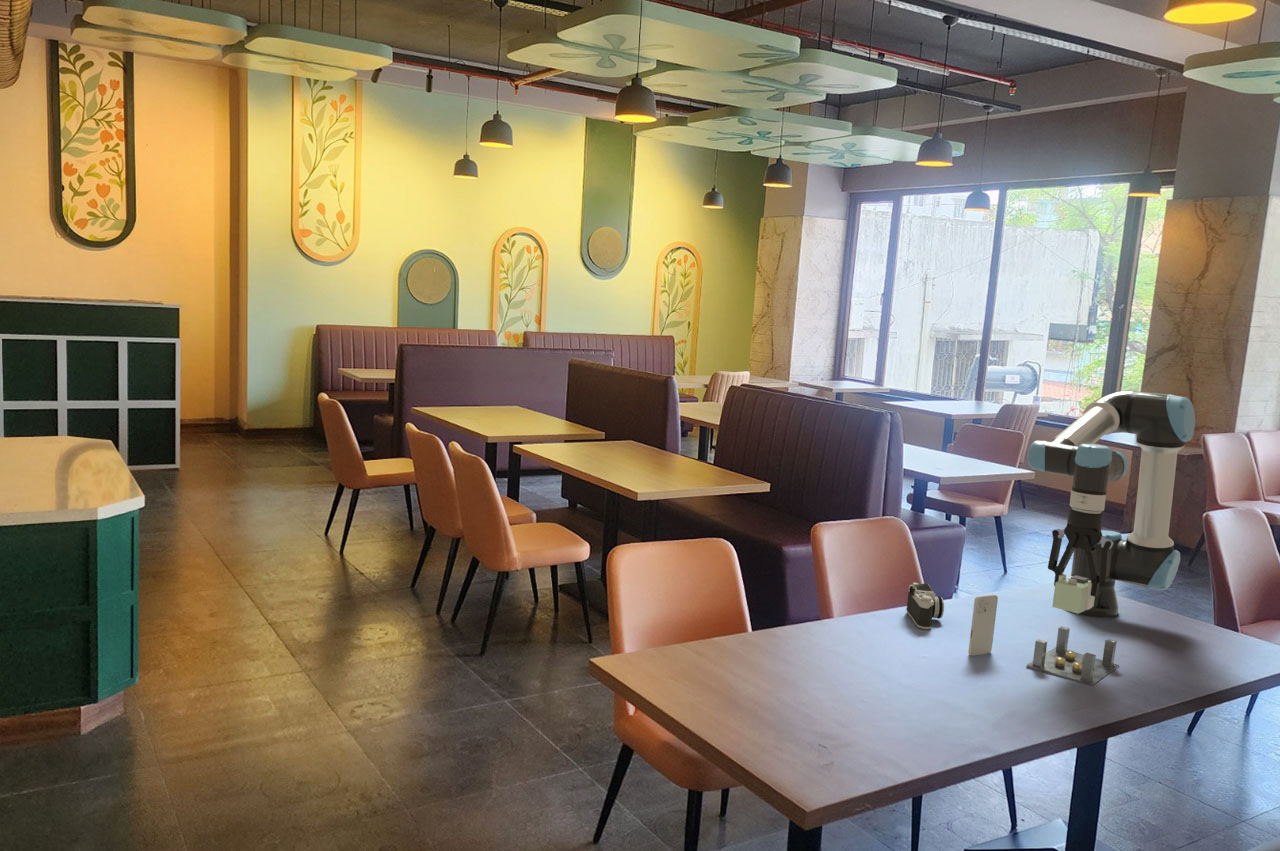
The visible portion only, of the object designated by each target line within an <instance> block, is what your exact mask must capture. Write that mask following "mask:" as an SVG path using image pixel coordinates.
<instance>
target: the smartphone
mask: <svg viewBox="0 0 1280 851" xmlns="http://www.w3.org/2000/svg"><path fill="white" fill-rule="evenodd" d="M998 599H999V598H998V595H996V594H994V593H993V594H991V593H990V594H985V595H983V594H982V595H977V596H976V597H975V598H974V602H973V608H972V609H973V611H972V617H971V618H972V620H971V628H970V637H969V643H968V655H969V656H972V657H974V656H978V655H979V656H980V655H986V654H990V653H991V652H992V649H993V643H994V642H993V640H994V633H995V625H996V617H997V616H996V615H997V611H998V610H997V608H998V601H999V600H998Z"/></svg>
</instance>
